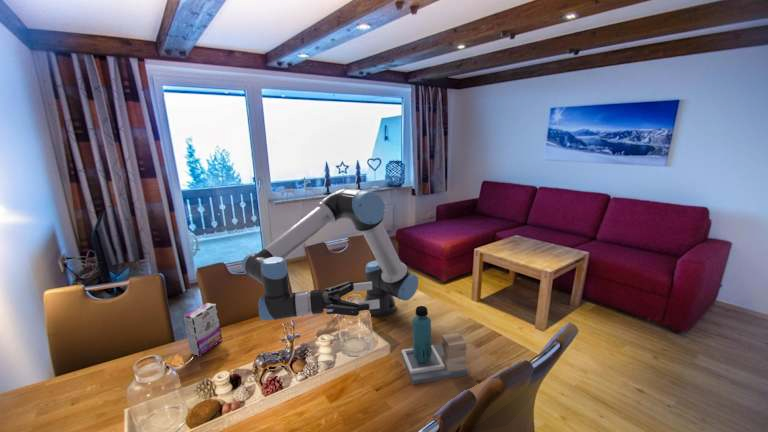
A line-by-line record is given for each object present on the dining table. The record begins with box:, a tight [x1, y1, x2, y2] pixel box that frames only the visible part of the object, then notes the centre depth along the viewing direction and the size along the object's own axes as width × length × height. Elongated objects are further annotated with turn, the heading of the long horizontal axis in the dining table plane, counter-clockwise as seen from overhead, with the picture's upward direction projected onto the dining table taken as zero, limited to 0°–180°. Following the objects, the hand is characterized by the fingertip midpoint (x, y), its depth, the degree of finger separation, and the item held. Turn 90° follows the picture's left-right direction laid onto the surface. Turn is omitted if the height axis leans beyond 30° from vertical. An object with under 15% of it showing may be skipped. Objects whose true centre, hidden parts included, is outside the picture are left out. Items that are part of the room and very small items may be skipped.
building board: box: [400, 344, 469, 385], centre depth 116 cm, size 16×19×2 cm
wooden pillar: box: [441, 332, 467, 372], centre depth 112 cm, size 6×6×10 cm
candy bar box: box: [183, 302, 223, 357], centre depth 128 cm, size 11×5×16 cm, turn 161°
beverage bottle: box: [412, 305, 432, 362], centre depth 114 cm, size 6×7×20 cm
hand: (375, 294), depth 110 cm, fingers open, 13 cm apart
